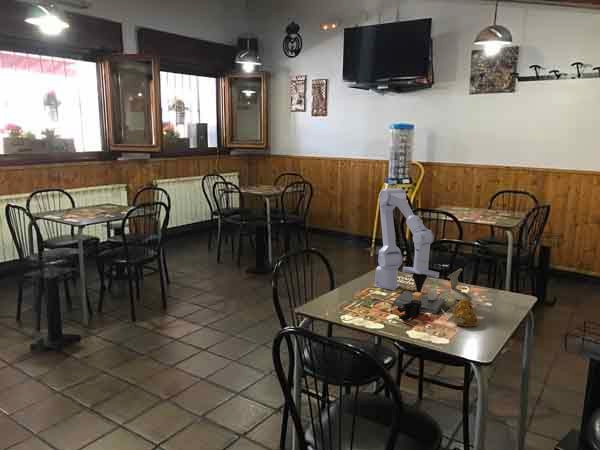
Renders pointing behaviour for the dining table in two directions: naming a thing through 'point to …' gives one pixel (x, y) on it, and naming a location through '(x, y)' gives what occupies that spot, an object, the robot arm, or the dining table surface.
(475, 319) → the rock
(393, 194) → the robot arm
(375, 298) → the dining table surface
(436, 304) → the panel
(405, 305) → the toy
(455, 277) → the jawbone
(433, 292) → the block
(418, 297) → the fader orange
